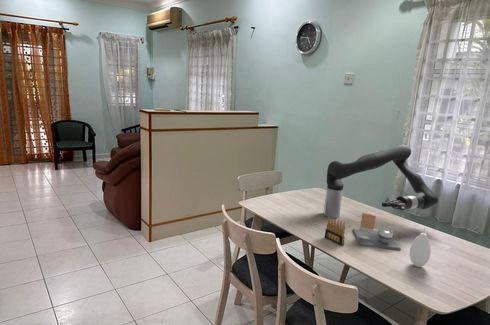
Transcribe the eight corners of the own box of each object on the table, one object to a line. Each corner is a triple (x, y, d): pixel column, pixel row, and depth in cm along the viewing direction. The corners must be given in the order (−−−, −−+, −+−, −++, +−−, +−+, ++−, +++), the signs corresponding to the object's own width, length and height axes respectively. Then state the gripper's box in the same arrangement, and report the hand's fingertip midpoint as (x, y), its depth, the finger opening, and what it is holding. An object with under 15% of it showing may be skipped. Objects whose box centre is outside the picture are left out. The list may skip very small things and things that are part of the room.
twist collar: (392, 235, 165) (395, 217, 163) (392, 240, 159) (395, 222, 156) (360, 228, 171) (363, 210, 169) (358, 232, 165) (361, 214, 163)
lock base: (360, 245, 160) (361, 238, 160) (352, 230, 178) (353, 223, 177) (400, 250, 159) (401, 242, 158) (388, 234, 176) (389, 227, 175)
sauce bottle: (404, 260, 149) (411, 223, 145) (421, 261, 149) (429, 225, 145) (412, 269, 141) (420, 231, 137) (430, 271, 141) (438, 232, 137)
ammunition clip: (343, 245, 160) (347, 222, 157) (341, 246, 159) (344, 223, 156) (326, 237, 168) (329, 215, 166) (324, 237, 167) (326, 215, 164)
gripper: (398, 192, 183) (374, 193, 176) (418, 200, 171) (394, 202, 164) (395, 204, 185) (372, 206, 178) (415, 213, 173) (391, 216, 166)
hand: (383, 204), depth 171 cm, fingers closed
